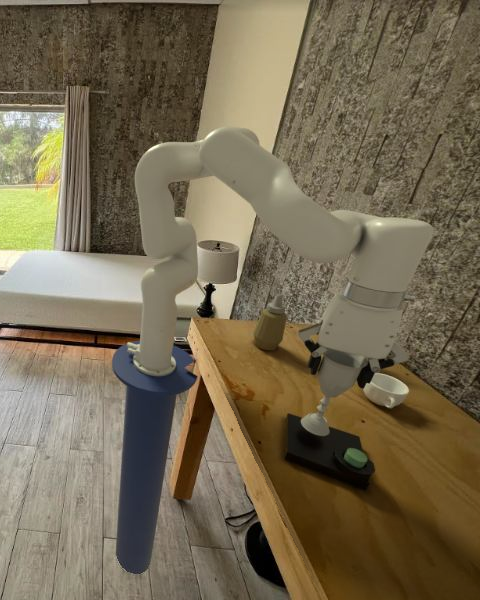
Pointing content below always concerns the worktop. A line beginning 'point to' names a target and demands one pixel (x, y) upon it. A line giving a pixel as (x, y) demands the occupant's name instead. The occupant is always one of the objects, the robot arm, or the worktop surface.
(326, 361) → the chalice
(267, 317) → the squeeze bottle
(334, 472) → the scale
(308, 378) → the worktop surface
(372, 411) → the worktop surface
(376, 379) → the teacup
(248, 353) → the worktop surface
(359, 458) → the tare button
